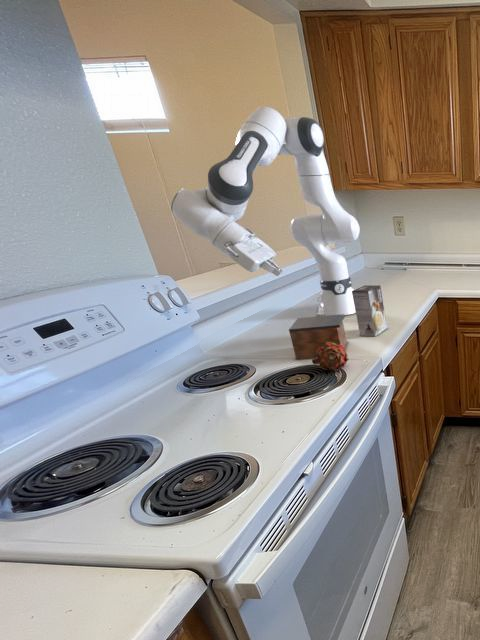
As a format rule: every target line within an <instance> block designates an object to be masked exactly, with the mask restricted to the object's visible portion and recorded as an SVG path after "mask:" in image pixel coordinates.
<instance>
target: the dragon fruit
mask: <svg viewBox="0 0 480 640" xmlns="http://www.w3.org/2000/svg"><path fill="white" fill-rule="evenodd" d="M345 348H346V347H345ZM345 348H344V347H343V346H341V345H340V344H338V345H337V344H335V343H333V342H327V343H326V344H325V345H324V346H323V347H319V348H318V350H317V351H316V354H315V355H314V358H311V363H312V364H313V365H319V367H320V369H321V368H324V369H322V370H324V371H326V372H327V371H331V372H339V371H340V370H341V369H343V368H344V367H345V365H347V362H348V361H349V360H350V359H349V356H348V354H347V352H346V349H345ZM316 355H317V356H316ZM315 356H316V357H315ZM326 368H327V369H326Z"/></svg>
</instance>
